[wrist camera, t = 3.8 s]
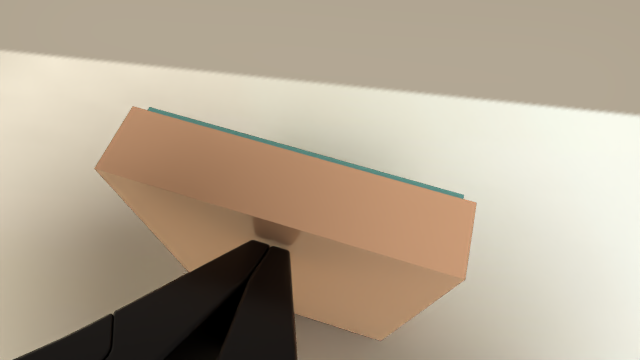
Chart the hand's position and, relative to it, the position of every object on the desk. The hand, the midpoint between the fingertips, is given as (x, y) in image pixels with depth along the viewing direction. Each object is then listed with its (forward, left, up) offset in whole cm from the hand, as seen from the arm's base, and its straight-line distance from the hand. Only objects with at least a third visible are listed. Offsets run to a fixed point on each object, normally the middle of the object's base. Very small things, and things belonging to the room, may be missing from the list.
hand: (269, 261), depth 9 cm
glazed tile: (0, 0, -7) cm, 7 cm away
